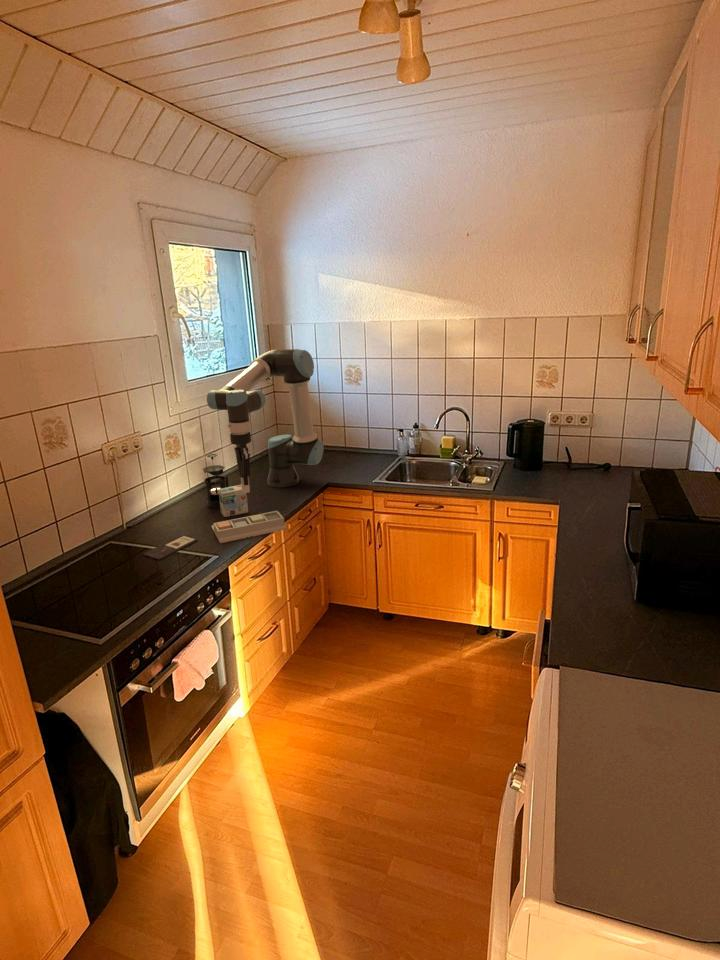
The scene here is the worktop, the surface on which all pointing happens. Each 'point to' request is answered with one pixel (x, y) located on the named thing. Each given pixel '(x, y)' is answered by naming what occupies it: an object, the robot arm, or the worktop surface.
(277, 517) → the charcoal key
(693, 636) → the worktop surface
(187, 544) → the chocolate bar
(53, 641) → the worktop surface
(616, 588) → the worktop surface
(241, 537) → the keypad board
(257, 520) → the sage key
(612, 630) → the worktop surface
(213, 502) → the french press
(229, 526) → the terracotta key
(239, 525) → the slate key
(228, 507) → the light bulb box
